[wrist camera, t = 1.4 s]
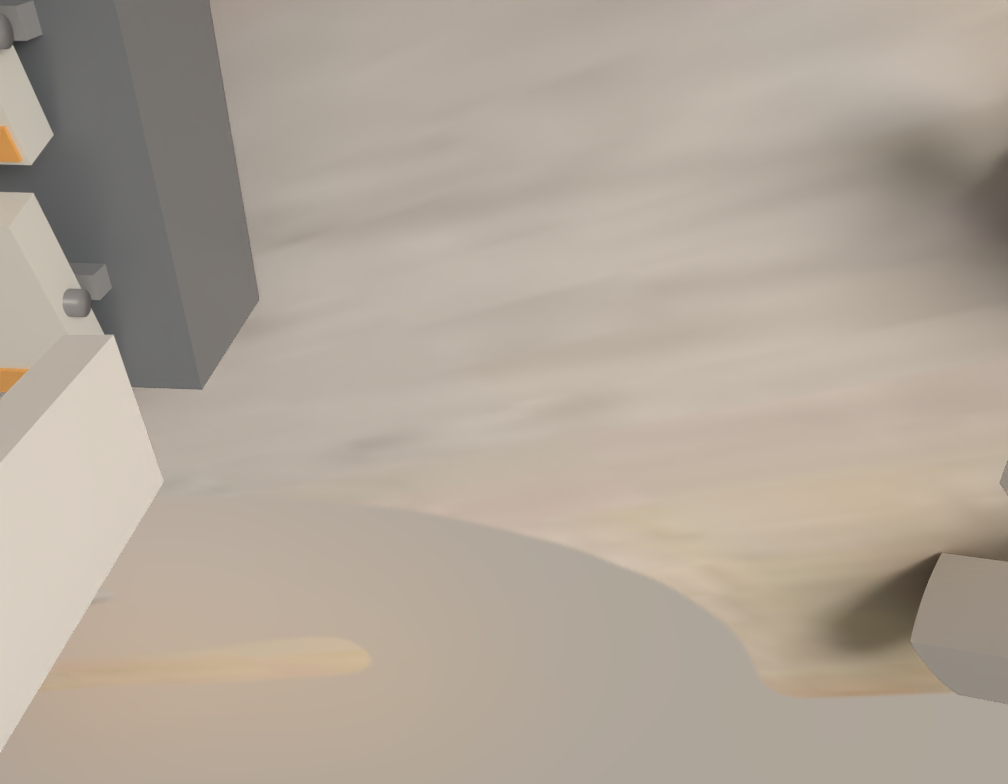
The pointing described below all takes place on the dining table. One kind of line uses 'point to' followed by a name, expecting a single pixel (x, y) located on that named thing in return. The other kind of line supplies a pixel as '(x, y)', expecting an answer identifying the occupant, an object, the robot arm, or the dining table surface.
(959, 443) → the dining table surface
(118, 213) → the switch unit
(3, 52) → the rocker
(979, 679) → the grey angular branched block
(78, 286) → the rocker
